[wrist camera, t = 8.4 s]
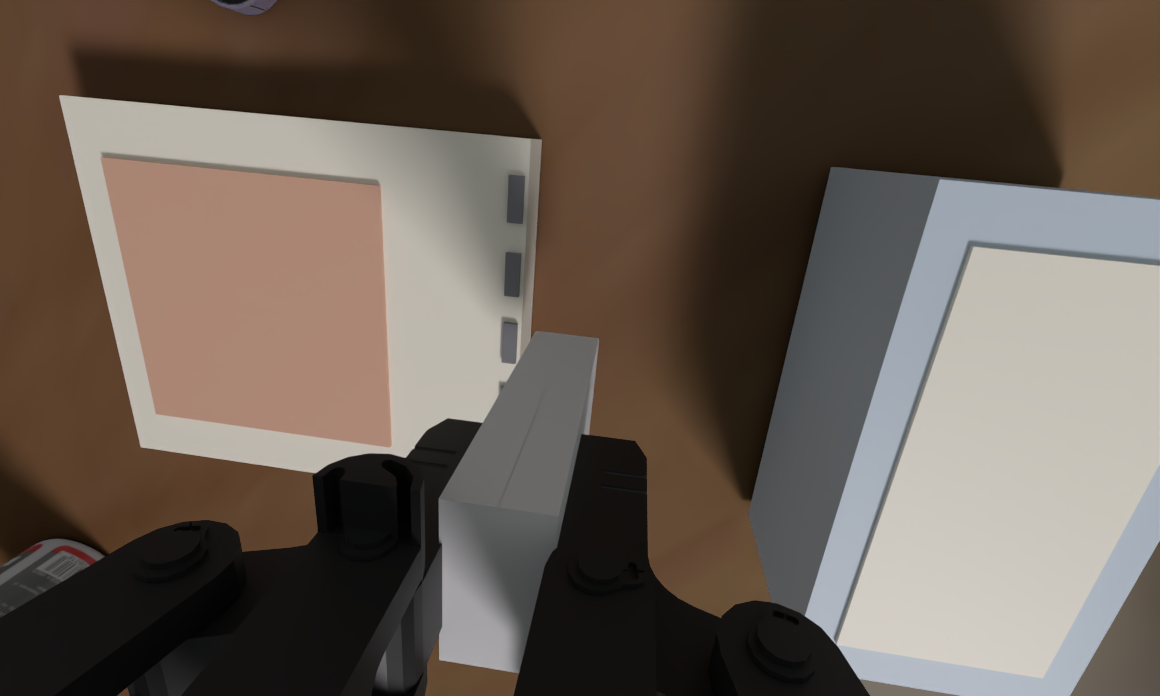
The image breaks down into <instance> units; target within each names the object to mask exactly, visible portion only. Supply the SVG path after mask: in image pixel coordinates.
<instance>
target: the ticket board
mask: <svg viewBox="0 0 1160 696" xmlns="http://www.w3.org/2000/svg"><path fill="white" fill-rule="evenodd" d="M59 98H60V102H61V106H62V110H63V115H64V119H65V123H66V128H67V132H68V136H69V140H70V145H71V149H72V153H73V158H74V162H75V166H76V171H77V175H78V179H79V183H80V188H81V192H82V196H83V201H84V205H85V209H86V213H87V218H88V222H89V226H90V231H91V235H92V239H93V244H94V248H95V252H96V256H97V261H98V265H99V269H100V274H101V278H102V282H103V286H104V291H105V295H106V299H107V304H108V308H109V312H110V317H111V321H112V325H113V329H114V334H115V338H116V342H117V347H118V351H119V355H120V359H121V364H122V368H123V372H124V377H125V381H126V385H127V390H128V394H129V398H130V402H131V407H132V411H133V415H134V420H135V424H136V428H137V433H138V437H139V441H140V445H141V447H143V448H150V449H157V450H164V451H170V452H177V453H184V454H191V455H197V456H204V457H211V458H217V459H224V460H231V461H238V462H244V463H251V464H258V465H265V466H271V467H278V468H285V469H291V470H298V471H305V472H312V473H317V472H318V471H320V470H321V469H323V468H324V467H325V466H327V465H328V464H331V463H334V462H336V461H339V460H341V459H344V458H347V457H351V456H357V455H362V454H368V453H377V454H393V455H396V456H400V457H404V458H406V457H407V456H408V454H409V453H410V452H411V450H412V449H414V448H415V445H416V444H417V442H418V441H419V440H420V438H421V437H422V436H423V435H424V433H425V432H426V431H427V430H428V429H430V428H431V427H433V426H435V425H437V424H438V423H440V422H442V421H444V420H446V419H447V418H450V419H458V420H465V421H473V422H480V423H483V422H484V420H485V418H486V416H487V415H488V413H489V411H490V409H491V408H492V406H493V404H494V403H495V401H496V399H497V397H498V396H499V394H500V392H501V391H502V389H503V387H504V385H505V384H506V382H507V380H508V378H509V377H510V375H511V373H512V372H513V370H514V368H515V366H516V365H517V363H518V361H519V359H520V358H521V356H522V354H523V353H524V351H525V349H526V347H527V346H528V344H529V342H530V339H531V321H532V304H533V286H534V269H535V251H536V234H537V216H538V199H539V181H540V164H541V146H542V140H540V139H529V138H518V137H507V136H497V135H486V134H475V133H464V132H454V131H443V130H432V129H421V128H411V127H400V126H389V125H378V124H368V123H357V122H346V121H335V120H325V119H314V118H303V117H293V116H282V115H271V114H260V113H250V112H239V111H228V110H217V109H207V108H196V107H185V106H174V105H164V104H153V103H142V102H131V101H121V100H110V99H98V98H86V97H75V96H63V95H59Z"/></svg>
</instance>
